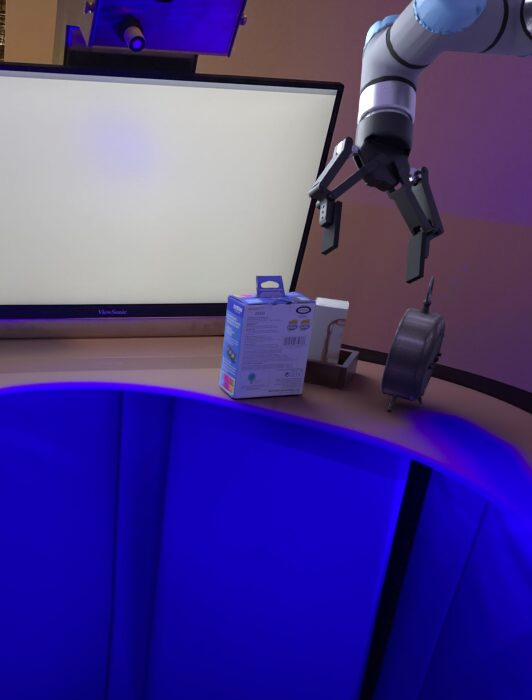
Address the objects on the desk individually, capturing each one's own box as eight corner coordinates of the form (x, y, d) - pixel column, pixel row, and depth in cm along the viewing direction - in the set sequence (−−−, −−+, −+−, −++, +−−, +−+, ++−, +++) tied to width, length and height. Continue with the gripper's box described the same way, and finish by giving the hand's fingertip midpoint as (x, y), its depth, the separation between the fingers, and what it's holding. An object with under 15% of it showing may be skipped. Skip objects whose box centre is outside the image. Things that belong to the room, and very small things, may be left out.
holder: (355, 372, 117) (359, 351, 116) (343, 389, 111) (347, 367, 109) (297, 360, 121) (300, 340, 119) (281, 377, 114) (284, 355, 113)
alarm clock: (392, 387, 112) (418, 265, 105) (434, 396, 110) (464, 272, 103) (372, 412, 104) (399, 281, 97) (418, 423, 101) (449, 289, 94)
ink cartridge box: (283, 380, 113) (300, 272, 107) (304, 395, 108) (323, 283, 102) (215, 384, 110) (228, 274, 104) (233, 400, 105) (249, 285, 99)
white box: (334, 383, 113) (348, 309, 109) (301, 378, 114) (313, 305, 110) (336, 371, 117) (349, 299, 113) (304, 366, 118) (315, 295, 114)
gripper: (438, 167, 124) (428, 300, 120) (292, 109, 117) (276, 248, 112) (477, 141, 117) (468, 281, 113) (324, 78, 110) (309, 225, 105)
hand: (372, 265), depth 112 cm, fingers open, 13 cm apart
